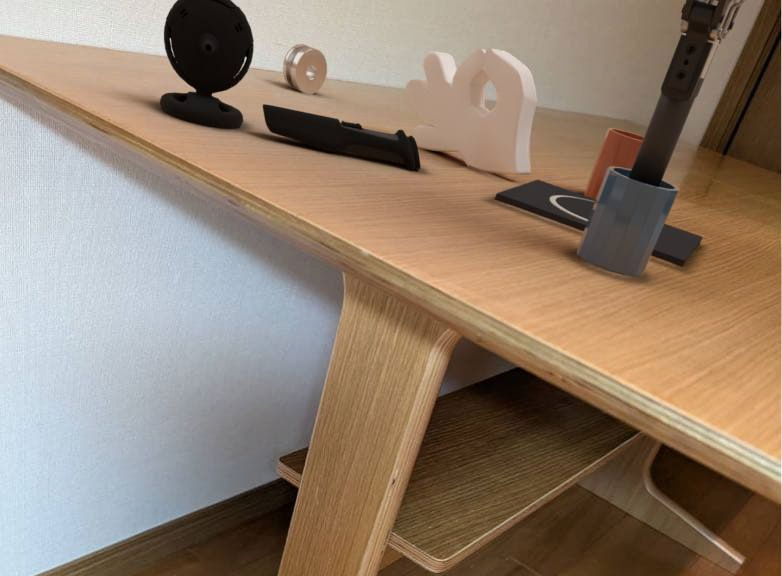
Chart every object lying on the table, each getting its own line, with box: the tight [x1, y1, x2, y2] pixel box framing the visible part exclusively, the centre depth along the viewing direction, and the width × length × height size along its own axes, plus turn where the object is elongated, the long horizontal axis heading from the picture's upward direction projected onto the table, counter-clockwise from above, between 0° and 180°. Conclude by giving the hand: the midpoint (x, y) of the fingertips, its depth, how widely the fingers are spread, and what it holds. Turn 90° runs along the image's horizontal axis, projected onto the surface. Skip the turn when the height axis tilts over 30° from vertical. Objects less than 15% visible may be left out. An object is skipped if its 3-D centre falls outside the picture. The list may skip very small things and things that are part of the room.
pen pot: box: [583, 127, 645, 200], centre depth 88 cm, size 6×6×7 cm
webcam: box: [159, 0, 255, 130], centre depth 73 cm, size 8×8×10 cm
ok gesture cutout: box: [404, 47, 538, 176], centre depth 86 cm, size 3×15×11 cm, turn 50°
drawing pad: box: [494, 179, 704, 267], centre depth 79 cm, size 18×14×1 cm
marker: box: [629, 33, 719, 187], centre depth 60 cm, size 2×2×12 cm
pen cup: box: [576, 166, 681, 277], centre depth 64 cm, size 6×6×7 cm
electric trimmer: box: [262, 103, 421, 172], centre depth 77 cm, size 4×16×3 cm, turn 103°
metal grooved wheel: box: [282, 43, 328, 95], centre depth 101 cm, size 5×3×5 cm, turn 134°
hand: (677, 96), depth 59 cm, fingers closed on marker, 2 cm apart
